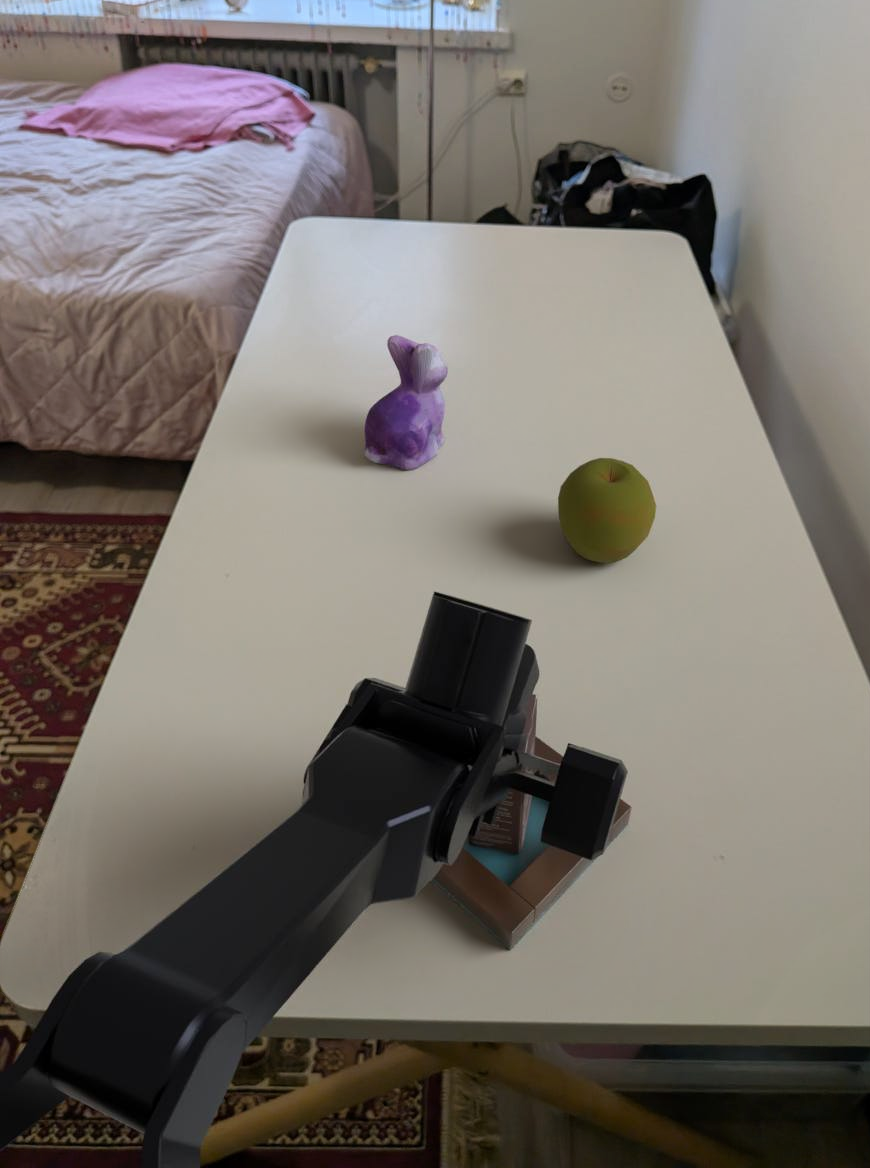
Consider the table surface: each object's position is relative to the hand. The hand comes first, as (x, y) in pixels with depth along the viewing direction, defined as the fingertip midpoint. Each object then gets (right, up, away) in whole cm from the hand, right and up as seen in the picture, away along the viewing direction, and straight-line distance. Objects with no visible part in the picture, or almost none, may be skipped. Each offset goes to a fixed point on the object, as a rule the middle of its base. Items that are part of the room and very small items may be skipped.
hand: (504, 752), depth 70 cm
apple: (+11, +14, +31) cm, 35 cm away
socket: (0, -7, +5) cm, 8 cm away
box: (0, -6, +5) cm, 8 cm away
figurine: (-10, +26, +44) cm, 52 cm away
